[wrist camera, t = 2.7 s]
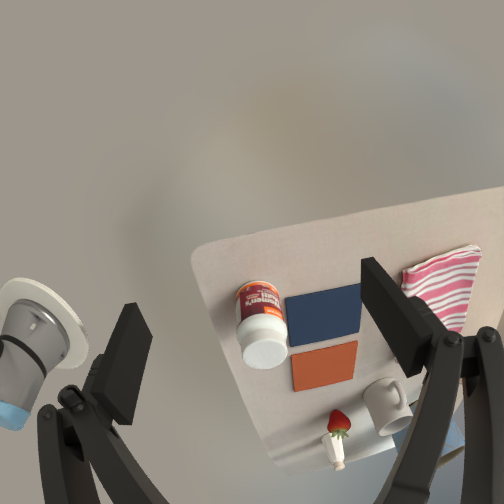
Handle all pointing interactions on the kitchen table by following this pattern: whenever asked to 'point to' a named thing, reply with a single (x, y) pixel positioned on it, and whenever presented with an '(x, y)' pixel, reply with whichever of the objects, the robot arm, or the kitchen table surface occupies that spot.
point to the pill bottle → (260, 325)
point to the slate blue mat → (323, 315)
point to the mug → (387, 406)
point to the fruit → (338, 424)
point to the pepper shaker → (334, 450)
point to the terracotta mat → (324, 366)
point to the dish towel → (445, 284)
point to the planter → (452, 443)
